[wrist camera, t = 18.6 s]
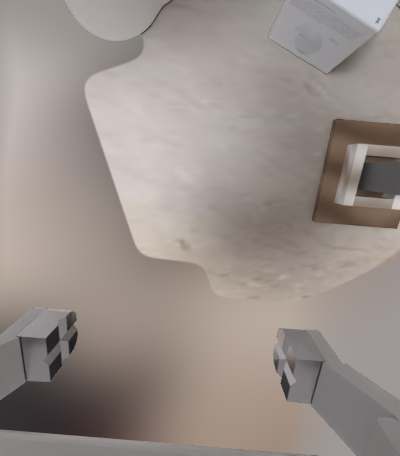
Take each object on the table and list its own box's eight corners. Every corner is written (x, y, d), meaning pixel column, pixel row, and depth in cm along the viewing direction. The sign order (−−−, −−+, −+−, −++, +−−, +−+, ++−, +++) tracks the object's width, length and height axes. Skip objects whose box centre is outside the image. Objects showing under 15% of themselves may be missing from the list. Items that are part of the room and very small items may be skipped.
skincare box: (353, 29, 32) (421, -34, 22) (326, 75, 34) (378, 36, 24) (290, -13, 31) (332, -99, 21) (265, 37, 33) (293, -21, 23)
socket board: (333, 120, 35) (347, 115, 32) (423, 127, 35) (446, 123, 32) (311, 220, 39) (322, 225, 36) (392, 227, 40) (409, 232, 36)
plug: (359, 162, 36) (408, 161, 27) (384, 164, 36) (441, 164, 27) (352, 188, 37) (398, 195, 28) (377, 190, 37) (430, 197, 28)
